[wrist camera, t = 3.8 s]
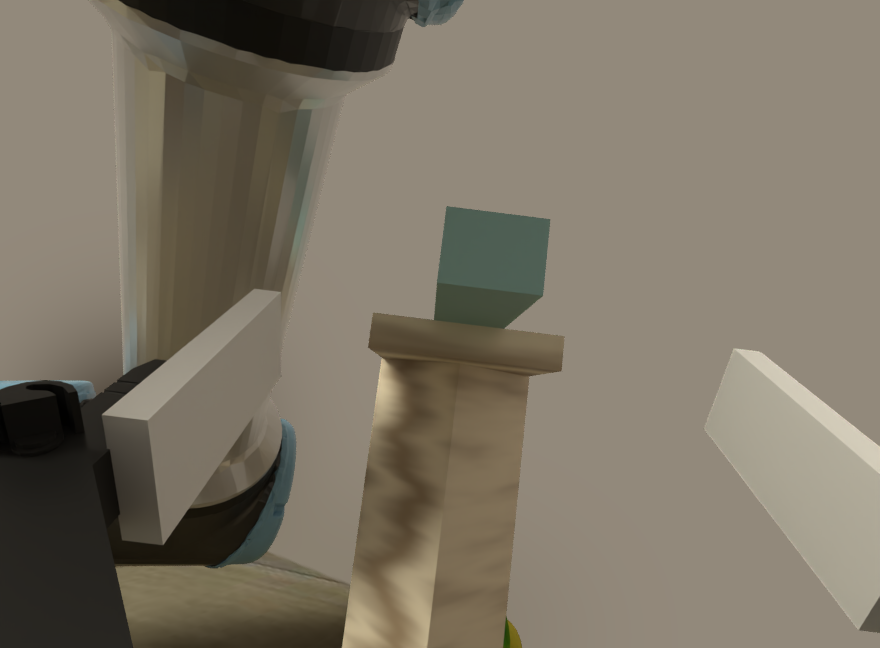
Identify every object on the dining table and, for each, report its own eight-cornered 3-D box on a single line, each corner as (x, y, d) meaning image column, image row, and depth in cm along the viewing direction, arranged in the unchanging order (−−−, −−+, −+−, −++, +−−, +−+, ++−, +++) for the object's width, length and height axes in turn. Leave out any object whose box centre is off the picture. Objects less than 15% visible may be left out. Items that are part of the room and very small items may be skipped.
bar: (542, 295, 19) (550, 219, 19) (437, 282, 19) (446, 206, 19) (477, 351, 45) (480, 317, 45) (432, 345, 45) (436, 312, 45)
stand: (284, 913, 25) (370, 312, 29) (344, 695, 43) (392, 342, 47) (514, 939, 25) (567, 336, 29) (478, 711, 43) (514, 357, 47)
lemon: (500, 746, 39) (513, 608, 40) (437, 711, 42) (451, 584, 43) (535, 708, 44) (546, 587, 46) (477, 680, 47) (488, 568, 49)
